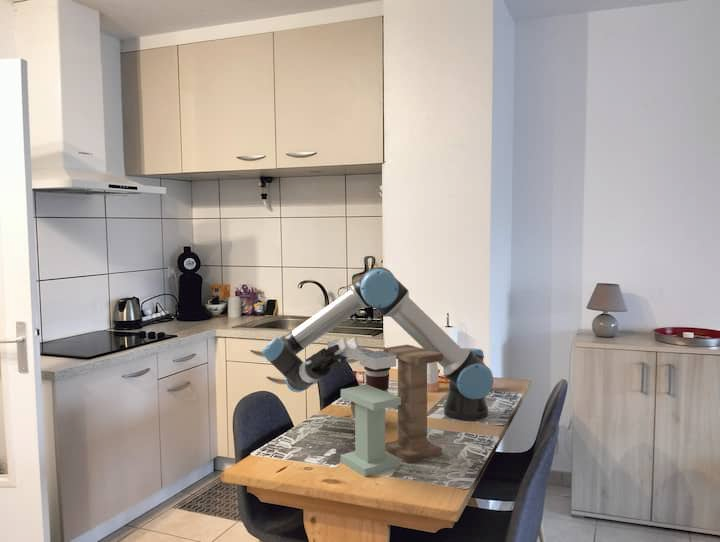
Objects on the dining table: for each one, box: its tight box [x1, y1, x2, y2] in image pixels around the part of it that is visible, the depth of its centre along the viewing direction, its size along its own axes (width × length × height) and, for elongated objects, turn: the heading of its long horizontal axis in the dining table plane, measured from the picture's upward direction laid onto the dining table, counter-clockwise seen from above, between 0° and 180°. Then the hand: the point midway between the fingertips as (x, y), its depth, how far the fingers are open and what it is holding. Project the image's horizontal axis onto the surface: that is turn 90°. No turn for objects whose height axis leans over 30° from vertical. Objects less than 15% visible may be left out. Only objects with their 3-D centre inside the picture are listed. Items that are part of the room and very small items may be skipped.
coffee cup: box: [363, 366, 392, 393], centre depth 229 cm, size 10×10×15 cm
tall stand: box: [382, 344, 443, 465], centre depth 176 cm, size 16×12×30 cm
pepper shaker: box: [421, 346, 440, 393], centre depth 242 cm, size 7×7×19 cm
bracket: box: [327, 339, 397, 370], centre depth 170 cm, size 27×7×3 cm, turn 34°
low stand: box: [340, 384, 402, 477], centre depth 168 cm, size 16×12×20 cm
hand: (350, 341), depth 173 cm, fingers closed on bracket, 3 cm apart
